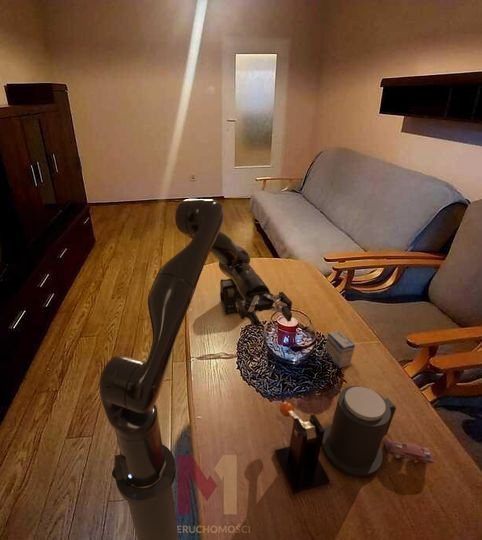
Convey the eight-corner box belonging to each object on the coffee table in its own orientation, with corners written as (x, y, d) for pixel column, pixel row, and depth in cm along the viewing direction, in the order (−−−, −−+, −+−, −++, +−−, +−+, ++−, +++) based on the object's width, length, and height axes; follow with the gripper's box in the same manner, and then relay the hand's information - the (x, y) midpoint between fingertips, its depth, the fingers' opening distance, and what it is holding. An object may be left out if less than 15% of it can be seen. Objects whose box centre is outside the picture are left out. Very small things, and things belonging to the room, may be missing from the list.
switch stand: (274, 452, 86) (280, 410, 78) (308, 444, 88) (316, 402, 80) (292, 494, 78) (300, 451, 70) (329, 483, 80) (340, 440, 72)
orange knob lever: (278, 414, 88) (276, 401, 88) (290, 411, 89) (289, 398, 89) (304, 442, 74) (303, 427, 74) (319, 439, 75) (317, 423, 75)
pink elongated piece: (383, 457, 86) (391, 454, 80) (383, 438, 88) (390, 433, 83) (428, 469, 83) (439, 466, 78) (426, 448, 86) (437, 444, 80)
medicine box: (323, 352, 116) (327, 332, 112) (334, 349, 118) (338, 329, 113) (339, 369, 110) (343, 348, 106) (350, 365, 111) (355, 344, 107)
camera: (218, 300, 144) (217, 269, 137) (250, 296, 146) (251, 265, 139) (223, 316, 135) (223, 283, 128) (258, 311, 137) (260, 279, 130)
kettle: (341, 485, 79) (356, 435, 70) (311, 431, 91) (320, 383, 82) (398, 468, 82) (419, 419, 73) (362, 419, 94) (376, 371, 85)
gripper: (228, 280, 97) (247, 313, 84) (275, 273, 100) (302, 304, 86) (228, 302, 101) (246, 338, 87) (273, 294, 104) (298, 328, 90)
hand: (274, 321), depth 87 cm, fingers open, 8 cm apart
